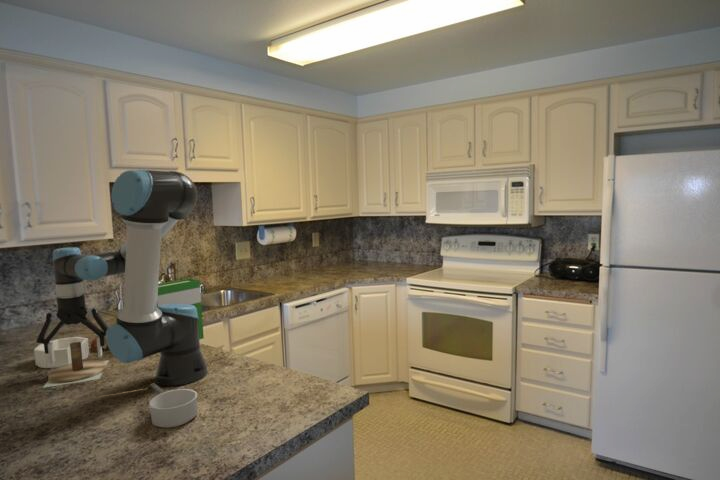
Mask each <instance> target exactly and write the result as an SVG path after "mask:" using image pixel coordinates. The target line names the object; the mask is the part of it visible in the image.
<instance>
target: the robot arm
mask: <svg viewBox="0 0 720 480" xmlns="http://www.w3.org/2000/svg"><path fill="white" fill-rule="evenodd" d="M197 201H198V190H197V187H196V184H195V183H194V181H193V180H192V179H191V178H190V177H189V176H187V175H186V174H184V173H182V172H179V171H173V170H167V171H166V170H149V169H134V170H133V169H131V170H129V169H128V170H126V171H123V172H121V173H120V174H119V175H118V176H117V178H116V179H115V181H114V182H113V186H112V189H111V202H112V204H113V208H114V210H115V211H116V212H117V213H118V214H119V215H120V219H121V220H122V221H123V223H124V224H125V225H126V241H125V242H124V243H123V244H122V246H121V247H120V248H119V249H118V250H117V251H110V252H109V251H108V252H103V253H102V252H101V253H94V254H82V252H81V249H80V248H79V247H75V246H73V247H71V246H70V247H61V248H56V249H54V250H53V251H52V264H53V265H52V266H53V271H54V273H53V274H54V281H55V282H54V283H55V293H56V297H57V298H56V304H57V312H53V311H49V312H48V313H46V315H45V322H44V324H43V326H42V328H41V330H40V333H39V334H38V336H37V339H36V343H37V344H44V350H45V354H48V353H49V363H50V364H53V363H54V361H55V358H54V348H53V342H50V341H52V339H53V338H54V336H56V335H57V333H58V332H59V330H60V329H61V328H62V327H63V326H64V325H66V326H70V325H78V324H82V325H85V326H86V327H87V329H89V330H90V331H92V333H94V334H95V335H96V337H97V336H98V337H97V348H98V352H97V356H98V358H102V357H103V351H102V346H104V345H105V337H104V336H105V335H106V341H107V345H108V347H109V349H110V350H109V351H110V353H111V355H112V356H113V357H114V358H115V359H116V360H117V361H118V362H120V363H123V364H131V363H134V362H139V361H141V360H143V359H146V358H148V357H151V356H153V355H157V354H160V356H159V361H158V364H157V368H156V371H155V380H156V382H157V384H160V385H162V386H168V387H169V386H181V385H186V384H190V383H194V382H196V381H199V380H201V379H202V378H204V377H205V376H206V375H208V365H207V362H206V360H205V357H204V355H203V353H202V351H201V345H200V344H201V343H200V341H201V340H200V339H199V326H198V315H197V309H196V307H195V306H193V305H190V304H165V305H160V306H158V307H157V297H158V284H159V280H160V279H159V278H160V265H161V264H160V260H161V247H162V239H163V238H164V237H165V236H166V234H168V232H169V231H170V230H171V229H172V228H173V227H174V226H175V225H176V224H177V223H178V222H179V221H183V220H185V219H186V218H187V217H188V216H190V214H191V213H192V211H193V210H194V209H195V207H196V205H197ZM121 274H124V282H123V283H124V286H123V304H122V306H123V307H122V308H121V309H120V310H119V311H117V313H116V321H115V323H112V324H111V325H109V326H108V325H107V324H106V322H105V321H104V319H103V318H102V316H101V315H100V314H99V312H98V308H97V307H96V306H94V307H92V308H88V309H87V307H86V306H87V305H86V298H85V296H86V295H85V285H84V281H91V282H92V281H98V280H100V279H103V278H105V277H109V276H115V275H121ZM87 314H89V315H90V316H92V318H93V319H94V321H95V322H96V323H97V325H98V326H99V327H98V326H97V325H96V324H94V323H93V322H92V321H91V320H90V319H89V318H88V317H87V316H86V315H87ZM56 317H57V318H58V319H59V320H60V321H59V322H58V323H57V325H56V326H55V327H54V328H53V329H52V331H51V332H50V333H49V335H47V332H48V330H49V328H50V326H51V325H52V324H51V323H52V321H53V320H54V319H55V318H56ZM46 335H47V337H46V338H45V336H46Z"/></svg>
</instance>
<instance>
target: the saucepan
mask: <svg viewBox="0 0 720 480" xmlns="http://www.w3.org/2000/svg"><path fill="white" fill-rule="evenodd" d="M149 386H150V388H152V389H153V390H154V391H155V392H156V393H157V395H155V396H154V397H152V398H151V399H150V400H149V401H148V406H149V408H150V417H151V423H152V425H154V426H156V427H161V428H167V429H168V428H177V427H179V426H181V425H182V426H183V425H185V424H186V423H188V422H189V421H191V420H193V418H195V417H196V416H197V414H198V406H197V397H198V392H197V391H195V390H194V389H188V388H178V389H172V390H167V391H165V390H164V389H163V388H161V387H160V386H159V385H157V384H156V383H154V382H153V383H150V384H149Z"/></svg>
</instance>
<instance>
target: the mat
mask: <svg viewBox="0 0 720 480" xmlns="http://www.w3.org/2000/svg"><path fill="white" fill-rule="evenodd" d="M102 361H103V362H105V363H106V366H107V365H108V363H109V359H108V360H102ZM103 373H104V371H103V372H102V373H100V374H98V375H96V376H93V377H90V378H87V379H84V380H80V381H75V382H68V383H54V382H51V381H49V379H48V380H47V382H45V384H44V386H43V387H42V388H51V387H57V386H65V385H70V384H77V383H82V382H90V381H96V380H100V379H101V376H102V375H103Z"/></svg>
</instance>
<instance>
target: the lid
mask: <svg viewBox="0 0 720 480" xmlns="http://www.w3.org/2000/svg"><path fill="white" fill-rule="evenodd" d="M70 350H71V360H72V364H68V365H65V366H62V367H56V368H55V369H54V370H51V371H50V372H49V373H48V375H47V377H48V380H49V381H51V382H54V383H68V382H75V381H80V380H84V379H87V378H90V377H93V376H96V375H98V374H100V373H102V372H103V373H104V371H106V369H107V365H106V363H105V362H103V361H104V360H93V359H92V360H83V359H82V349H81V342H73V343H71V344H70ZM103 373H102V374H103Z"/></svg>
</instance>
